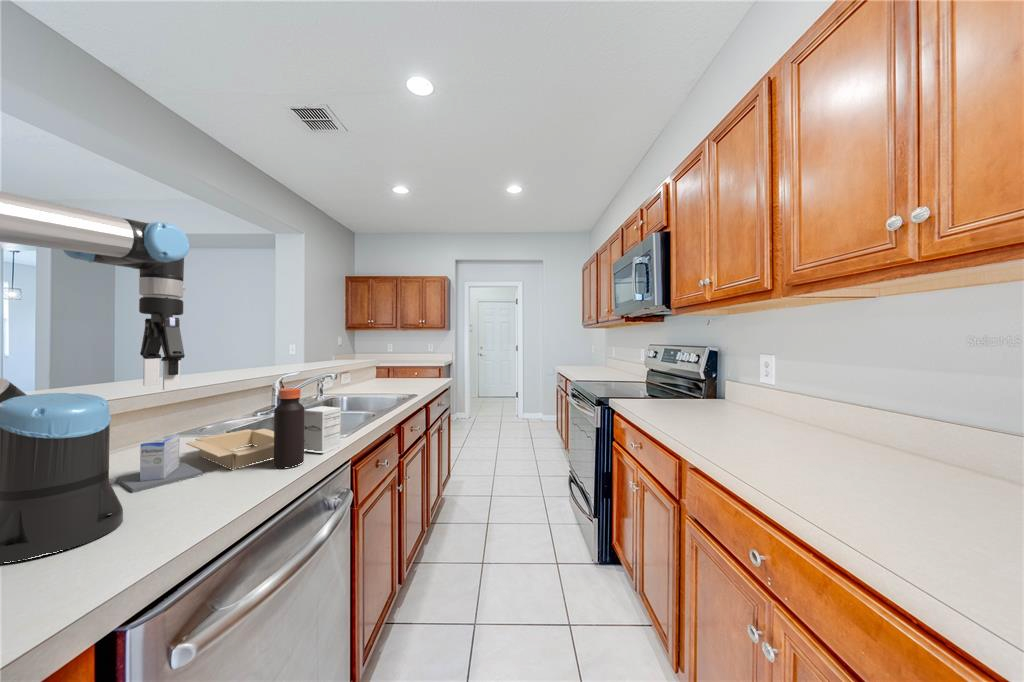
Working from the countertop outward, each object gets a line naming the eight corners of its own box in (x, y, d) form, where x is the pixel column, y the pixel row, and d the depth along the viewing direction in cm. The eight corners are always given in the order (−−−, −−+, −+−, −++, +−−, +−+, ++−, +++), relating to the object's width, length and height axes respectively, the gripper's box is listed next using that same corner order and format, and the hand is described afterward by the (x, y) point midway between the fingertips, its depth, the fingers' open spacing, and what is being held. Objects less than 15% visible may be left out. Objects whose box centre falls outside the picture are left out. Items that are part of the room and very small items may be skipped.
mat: (202, 475, 87) (202, 471, 87) (132, 492, 77) (132, 488, 77) (183, 465, 94) (183, 462, 94) (116, 480, 83) (116, 477, 83)
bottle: (309, 461, 98) (310, 388, 98) (291, 470, 91) (292, 391, 91) (286, 460, 99) (287, 387, 99) (267, 468, 92) (267, 390, 92)
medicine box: (156, 470, 88) (156, 435, 88) (179, 467, 90) (180, 433, 90) (139, 482, 81) (139, 443, 81) (165, 479, 83) (165, 441, 83)
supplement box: (301, 452, 105) (302, 409, 105) (321, 445, 113) (322, 405, 113) (321, 455, 103) (322, 411, 103) (341, 447, 110) (341, 406, 110)
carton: (304, 454, 103) (304, 439, 103) (223, 476, 87) (223, 457, 87) (259, 440, 117) (259, 427, 117) (181, 457, 100) (181, 441, 100)
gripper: (203, 296, 82) (202, 389, 82) (164, 301, 95) (163, 382, 95) (158, 292, 76) (157, 393, 76) (123, 298, 89) (122, 384, 89)
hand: (161, 387), depth 85 cm, fingers open, 13 cm apart
